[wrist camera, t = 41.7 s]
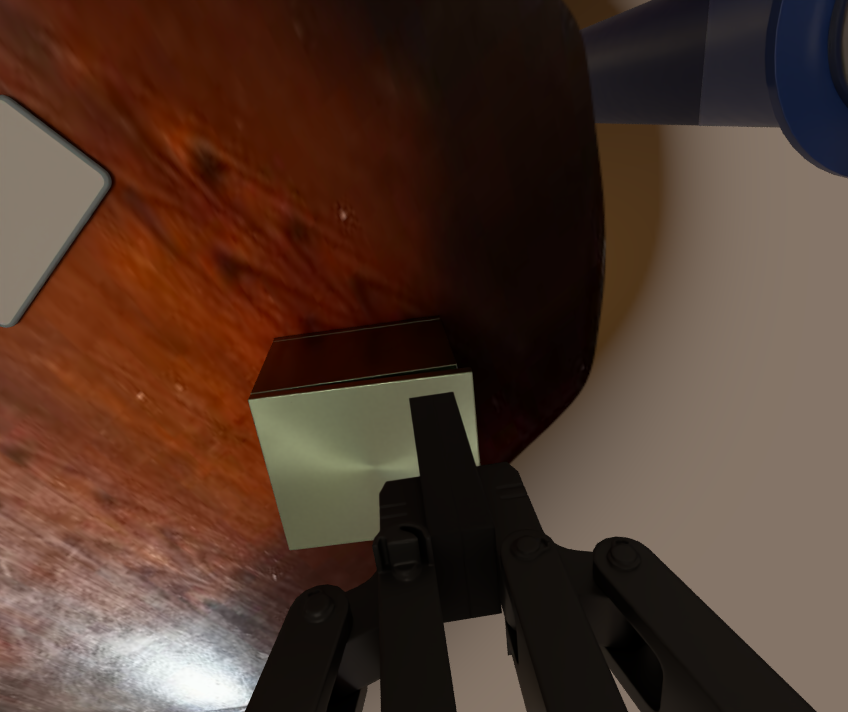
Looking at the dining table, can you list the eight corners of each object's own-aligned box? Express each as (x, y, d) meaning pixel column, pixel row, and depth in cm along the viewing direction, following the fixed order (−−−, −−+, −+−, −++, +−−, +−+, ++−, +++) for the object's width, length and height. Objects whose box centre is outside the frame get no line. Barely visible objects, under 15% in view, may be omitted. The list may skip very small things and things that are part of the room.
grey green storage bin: (439, 315, 45) (457, 364, 36) (453, 443, 50) (471, 514, 41) (274, 337, 44) (250, 393, 35) (305, 465, 49) (291, 542, 41)
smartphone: (-109, 261, 38) (-8, 87, 35) (-98, 258, 39) (2, 88, 36) (8, 333, 41) (113, 179, 37) (16, 328, 42) (119, 178, 38)
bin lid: (470, 366, 35) (472, 371, 35) (483, 519, 40) (485, 526, 40) (250, 393, 35) (247, 399, 35) (291, 543, 40) (289, 550, 40)
